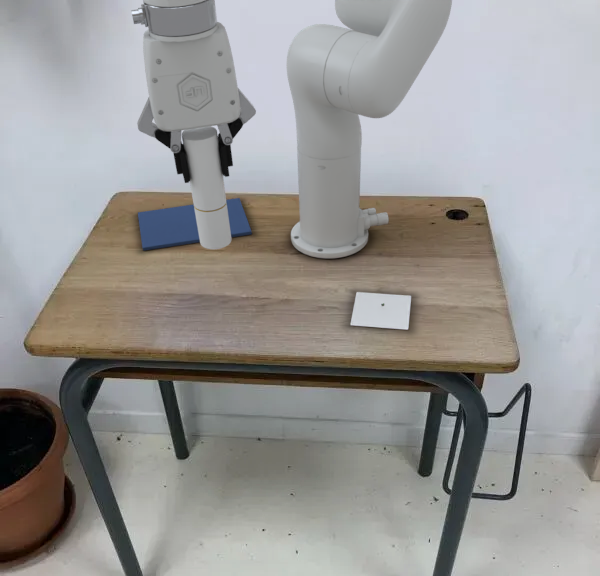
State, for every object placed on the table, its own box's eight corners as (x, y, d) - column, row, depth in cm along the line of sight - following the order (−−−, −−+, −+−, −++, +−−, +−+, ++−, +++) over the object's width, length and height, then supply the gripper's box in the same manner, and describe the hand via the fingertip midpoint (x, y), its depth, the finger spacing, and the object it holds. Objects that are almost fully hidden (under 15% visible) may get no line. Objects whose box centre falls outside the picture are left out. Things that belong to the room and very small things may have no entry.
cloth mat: (239, 200, 123) (239, 197, 123) (251, 234, 115) (251, 231, 114) (138, 215, 121) (137, 212, 120) (143, 250, 112) (142, 247, 112)
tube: (226, 250, 92) (211, 141, 82) (196, 248, 93) (176, 139, 83) (235, 233, 95) (221, 126, 85) (205, 231, 96) (188, 124, 86)
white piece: (350, 325, 96) (350, 320, 96) (356, 292, 102) (356, 287, 101) (408, 329, 95) (408, 325, 94) (411, 295, 101) (411, 291, 100)
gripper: (104, 37, 71) (141, 199, 84) (264, 16, 73) (276, 178, 86) (101, 15, 76) (137, 171, 89) (251, -3, 78) (265, 152, 91)
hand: (205, 173), depth 87 cm, fingers closed on tube, 4 cm apart
